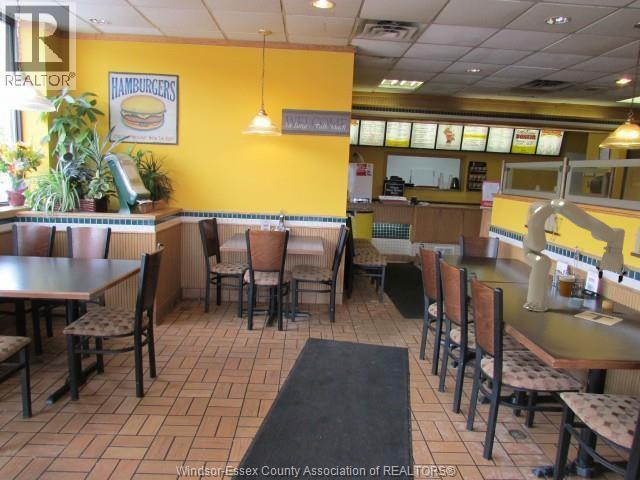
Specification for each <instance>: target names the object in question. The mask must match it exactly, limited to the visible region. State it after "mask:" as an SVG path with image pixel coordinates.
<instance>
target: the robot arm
mask: <svg viewBox="0 0 640 480" xmlns="http://www.w3.org/2000/svg"><path fill="white" fill-rule="evenodd" d="M528 209H529V212H530V213H529V214H531V215H530V216H529V218H528V220H527V233H526V234H525V235H524V237H523V238H522V248H523V256H524V260H525V263H526V265H527V266H529V267H531V269H530V274H529V280H528V289H527V297H526V303H524V304H523V308H525V309H526V310H530V311H532V312H533V311H534V312H547V311H549V308H548V307H547V306H546V304H547V301H546V300H547V293H548V285H549V276H550V274H551V273H550V272H551V269H552V263H553V262H552V259H551V257H550V256H548V255H547V254H545V253H542V252H543V251H545V250H546V248H547V246H548V242H547V236H546V235H547V234H546V227H545V224H546V222H547V221H548V219H549V218H550V217H551V216H552V215H554V214H558V215H561V216H563V218H565V219H567V220H568V221H570V222H571V223H572V224H574V226H577V227H579V228H581V229H583V230H586V231H589V232H591V233H590V235H591V237H592V238H593V239H595V240H596V241H601V242H605V243H606V245H605V246H603V250H605V251H603V253H602V257H601V261H597V262H594V266H595V268H596V270H597V271H598V275H597V277H598V280H602V279H603V277H604V272H603V271H609V272H610V271H611V272H614V273H615V272H617V273H618V274H619V275H618V280H617V283H618V284H620V283H622V282H623V281H624V279H623V278H624V276H625V275H627V274H628V273H629V272H630V270H631V268H629V267H628V266H626V265H625V264H624V261H625V259H624V253H623V249H624V243H625V242H624V241H625V237H626V235H625V234H626V230H625V229H624V228H620V227H611V226H610V225H608V224H607V223H605V222H604V221H602V220H600V219H599V218H596V217H595V216H593V215H592V214H590V213H588V212H586V211H585V210H583V209H582V208H581V207H579V206H578V205H577V204H575V203H574V202H572V201H571V200H569V199H566V198H565V199H564V198H553V199H547V200H539V201H535V202H532V203H531V204H530V206H529V208H528ZM599 265H600V266H599ZM624 269H625V270H624Z"/></svg>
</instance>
